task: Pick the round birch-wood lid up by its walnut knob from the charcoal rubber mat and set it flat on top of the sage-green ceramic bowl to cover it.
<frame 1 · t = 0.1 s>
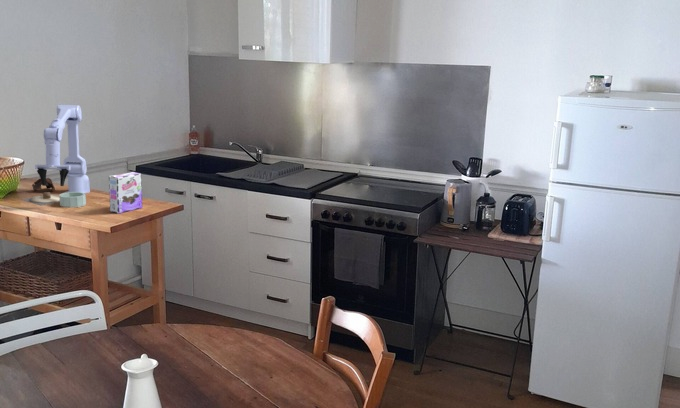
hand: (53, 185, 282), 11 cm above the table, tool pointing down, fingers open, 7 cm apart
lid: (47, 199, 298), resting on mat
mat: (47, 200, 298), on the table
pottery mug: (45, 192, 316), on the table
bowl: (73, 205, 292), on the table
candy box: (126, 210, 288), on the table
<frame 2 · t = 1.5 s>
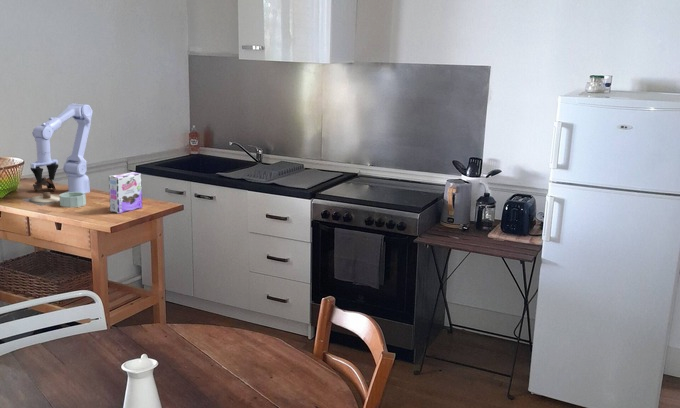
hand: (45, 181, 296), 9 cm above the table, tool pointing down, fingers open, 7 cm apart
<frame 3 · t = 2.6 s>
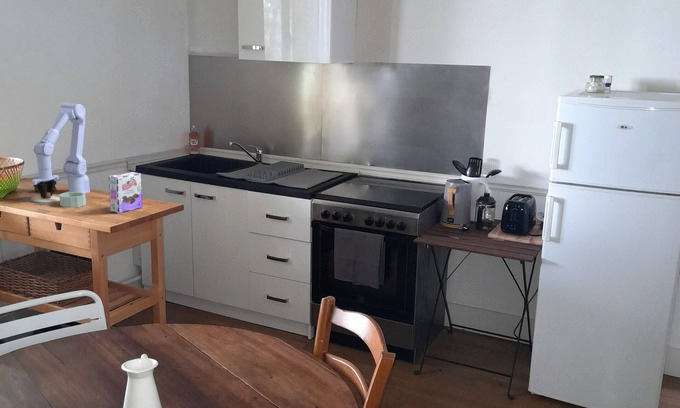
hand: (46, 196, 298), 2 cm above the table, tool pointing down, fingers closed on lid, 3 cm apart
lid: (47, 199, 298), resting on mat, touching gripper
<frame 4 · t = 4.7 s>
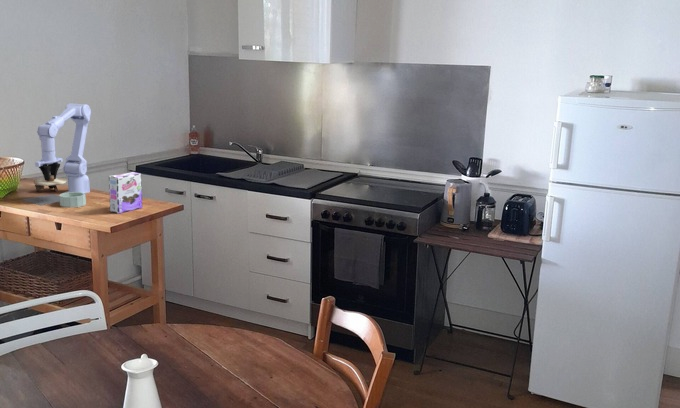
hand: (50, 179, 294), 10 cm above the table, tool pointing down, fingers closed on lid, 3 cm apart
lid: (50, 182, 295), point 9 cm above the table, touching gripper
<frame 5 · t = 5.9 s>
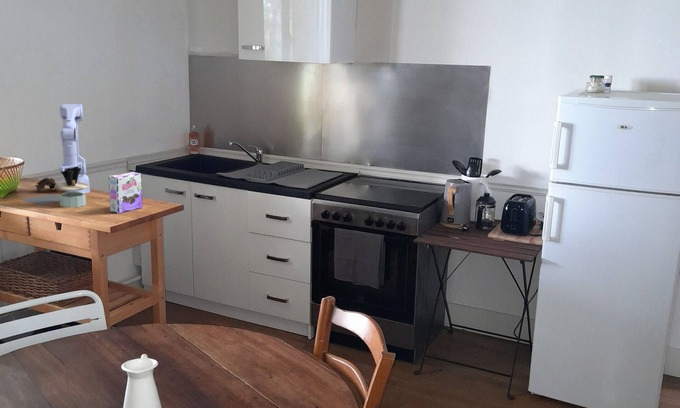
hand: (71, 184, 290), 10 cm above the table, tool pointing down, fingers closed on lid, 3 cm apart
lid: (71, 187, 290), point 8 cm above the table, touching gripper
when the fingers open (7 cm above the table, at t = 6.8 s): lid stays where it is, resting on bowl.
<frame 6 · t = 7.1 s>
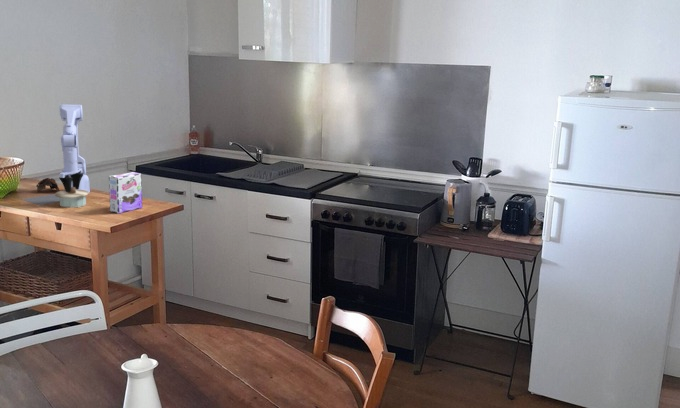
hand: (72, 190, 290), 7 cm above the table, tool pointing down, fingers open, 6 cm apart
lid: (72, 194, 291), point 5 cm above the table, touching bowl
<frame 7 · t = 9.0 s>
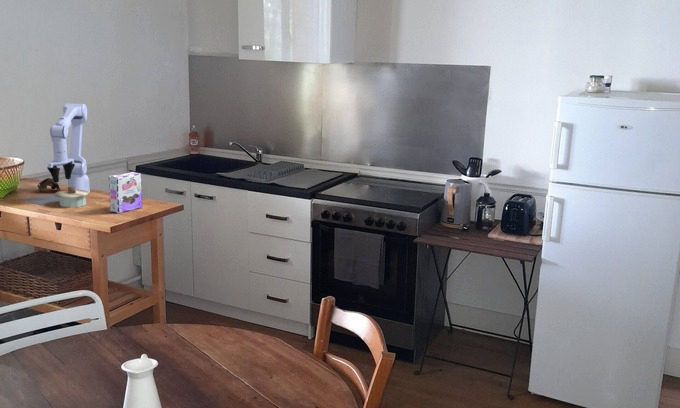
hand: (62, 180, 294), 10 cm above the table, tool pointing down, fingers open, 7 cm apart
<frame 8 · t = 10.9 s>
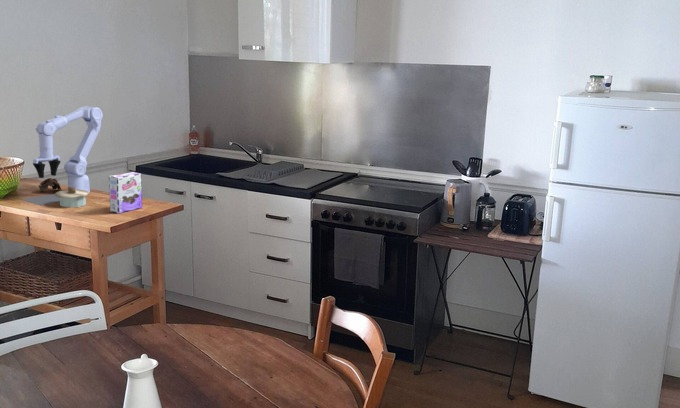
hand: (47, 176, 301), 10 cm above the table, tool pointing down, fingers open, 7 cm apart
at the end: lid 0.2 cm from the bowl (horizontally); lid point 5.0 cm above the table; lid tilted 0° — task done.
